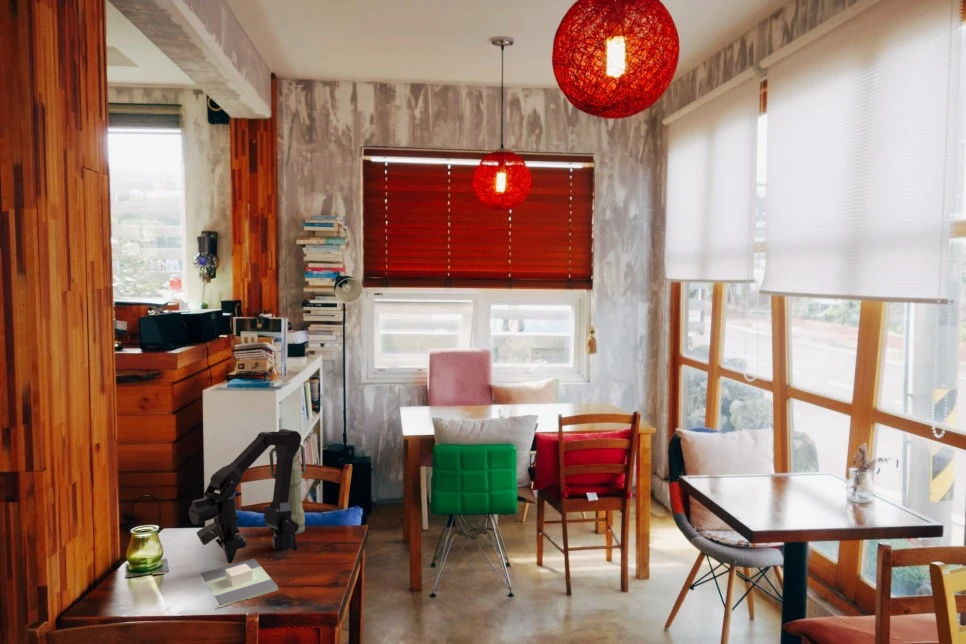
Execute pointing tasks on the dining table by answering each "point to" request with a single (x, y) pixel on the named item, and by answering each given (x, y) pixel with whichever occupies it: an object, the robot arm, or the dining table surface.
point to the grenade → (294, 487)
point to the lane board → (240, 585)
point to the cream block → (239, 574)
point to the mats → (242, 591)
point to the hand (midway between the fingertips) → (230, 562)
